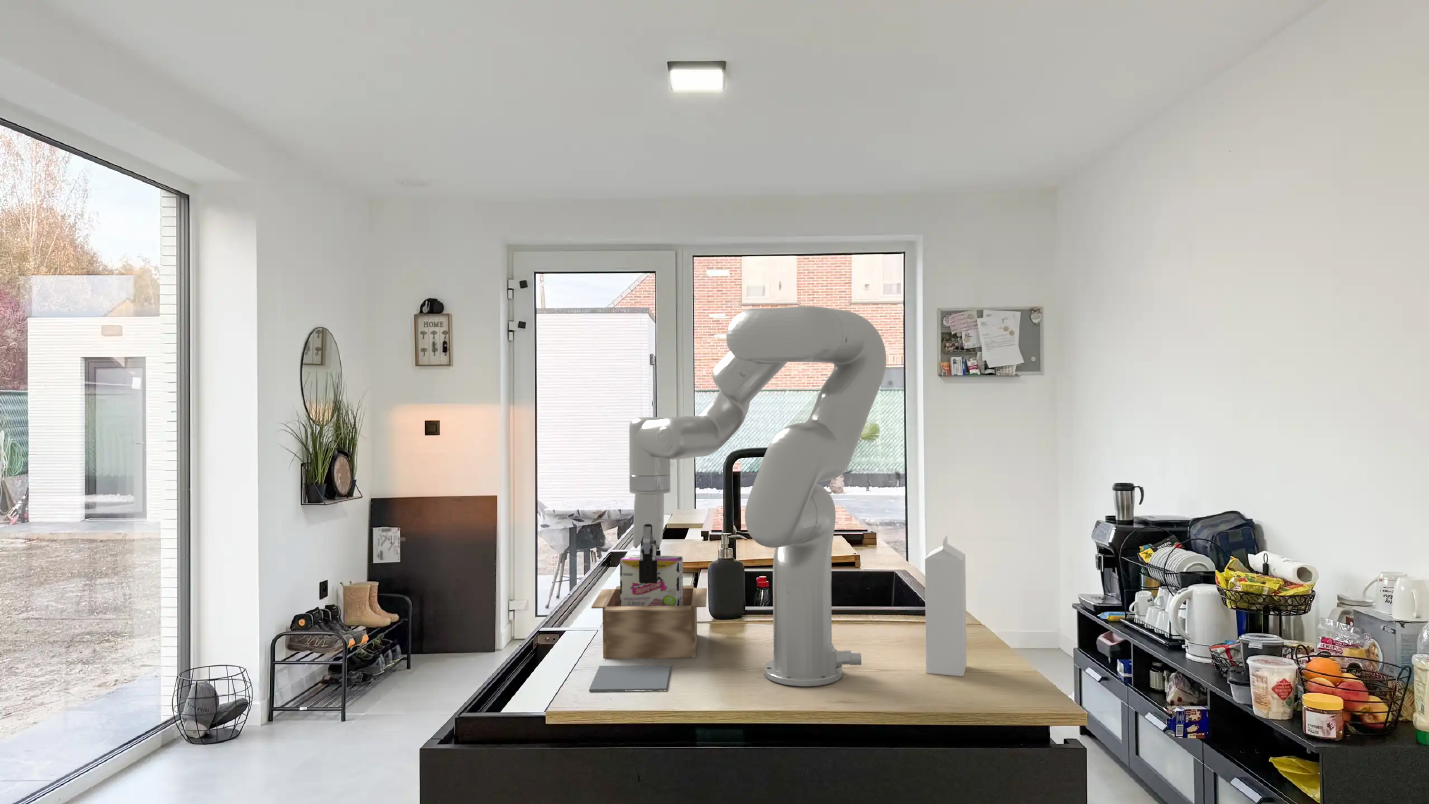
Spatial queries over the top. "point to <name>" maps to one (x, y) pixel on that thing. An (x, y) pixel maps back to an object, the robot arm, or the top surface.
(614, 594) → the open wooden box
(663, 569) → the candy bar box
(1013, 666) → the top surface
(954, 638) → the milk
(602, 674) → the mat
